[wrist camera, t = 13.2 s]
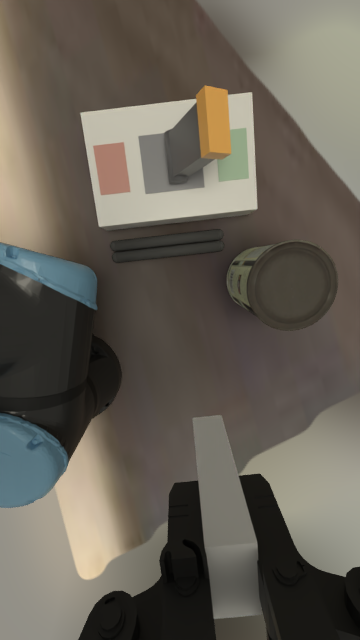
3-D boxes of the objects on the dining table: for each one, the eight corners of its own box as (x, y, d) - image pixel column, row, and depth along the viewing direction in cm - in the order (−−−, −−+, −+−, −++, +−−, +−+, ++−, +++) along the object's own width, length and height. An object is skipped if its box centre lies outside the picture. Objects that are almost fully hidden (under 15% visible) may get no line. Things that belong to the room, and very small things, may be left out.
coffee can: (298, 292, 45) (351, 306, 32) (242, 320, 46) (269, 345, 32) (274, 234, 43) (319, 222, 30) (215, 264, 44) (232, 267, 30)
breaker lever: (165, 184, 36) (209, 151, 27) (160, 136, 35) (204, 85, 25) (183, 184, 37) (231, 153, 28) (178, 138, 36) (227, 90, 27)
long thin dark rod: (114, 263, 44) (111, 263, 42) (110, 241, 43) (108, 241, 42) (223, 250, 44) (225, 250, 42) (222, 229, 43) (223, 228, 42)
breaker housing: (107, 230, 43) (98, 226, 38) (92, 130, 40) (79, 111, 35) (248, 214, 43) (257, 208, 38) (242, 112, 40) (252, 91, 35)
